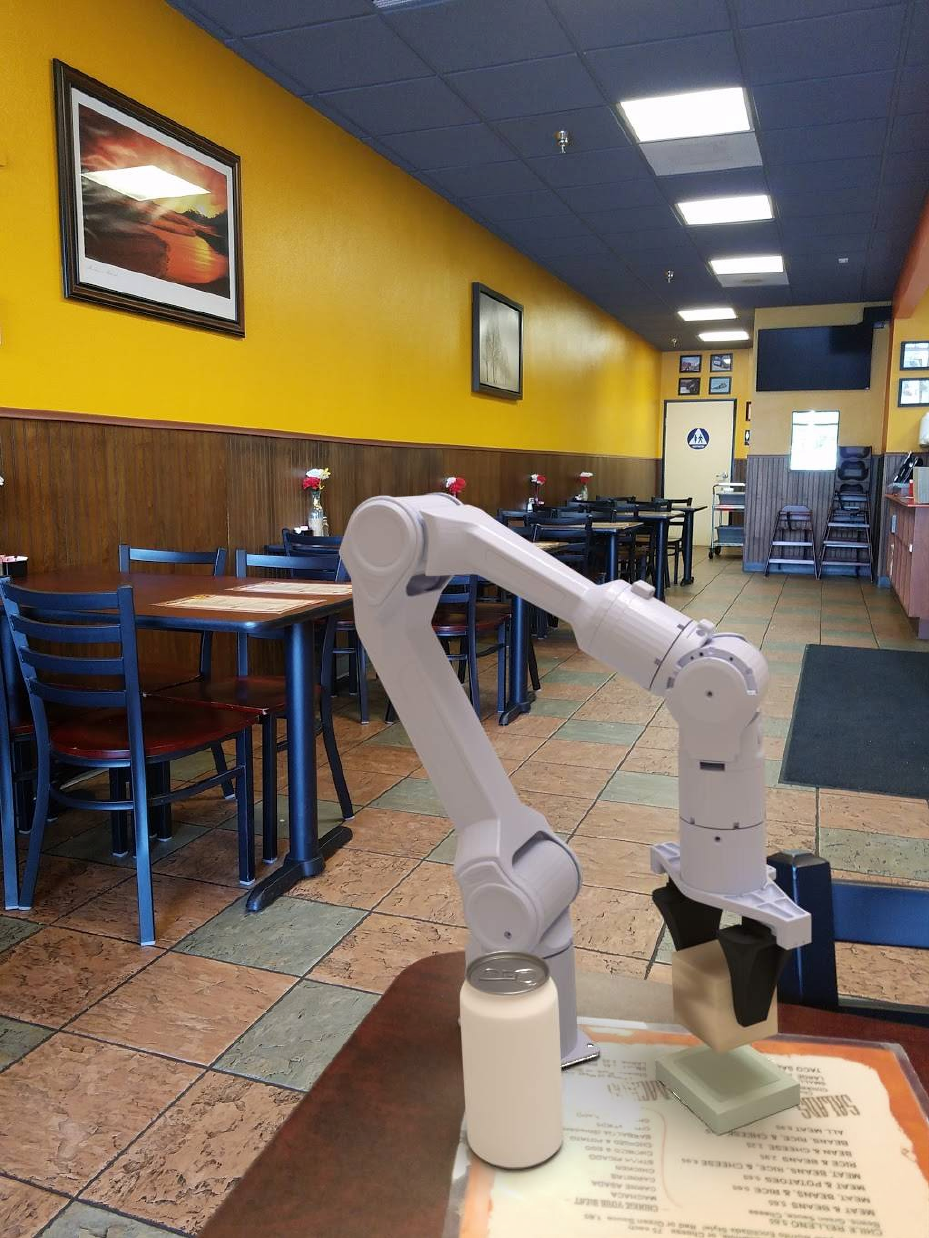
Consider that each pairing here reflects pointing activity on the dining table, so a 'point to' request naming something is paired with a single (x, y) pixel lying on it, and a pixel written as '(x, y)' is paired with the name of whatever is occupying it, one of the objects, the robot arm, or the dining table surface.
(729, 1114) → the base
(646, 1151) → the dining table surface
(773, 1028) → the block
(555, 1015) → the can
